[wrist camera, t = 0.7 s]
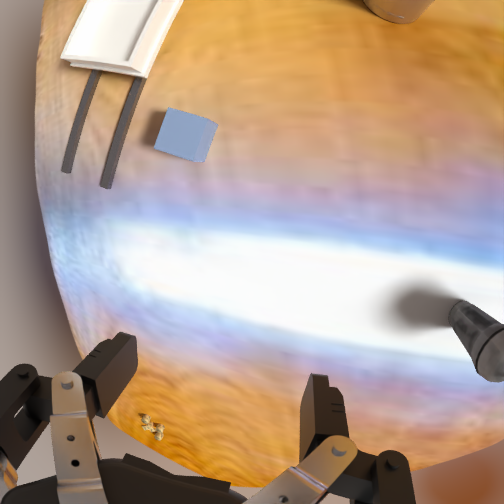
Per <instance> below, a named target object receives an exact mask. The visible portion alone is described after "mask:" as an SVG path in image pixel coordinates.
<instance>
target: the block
mask: <svg viewBox="0 0 504 504" xmlns="http://www.w3.org/2000/svg"><path fill="white" fill-rule="evenodd" d="M217 127H218V124H216V123H214V122H213V121H211V120H209V119H207V118H204V117H200V116H197V115H194V114H190V113H187V112H183V111H180V110H176V109H172V108H169V107H168V110H167V112H166V115H165V118H164V120H163V123H162V126H161V129H160V132H159V134H158V137H157V140H156V143H155V146H154V149H157V150H160V151H163V152H166V153H169V154H172V155H175V156H178V157H181V158H184V159H187V160H190V161H193V162H205V159H206V156H207V153H208V151H209V148H210V145H211V143H212V140H213V137H214V135H215V132H216V129H217Z"/></svg>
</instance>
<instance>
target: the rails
mask: <svg viewBox="0 0 504 504" xmlns="http://www.w3.org/2000/svg"><path fill="white" fill-rule="evenodd" d="M101 74H102V70H95V69H93V70H92V72H91V75H90V78H89V80H88V83H87V86H86V88H85V91H84V94H83V97H82V100H81V103H80V106H79V109H78V112H77V115H76V118H75V121H74V125H73V128H72V132H71V135H70V139H69V142H68V146H67V150H66V154H65V158H64V162H63V166H62V172H64V173H71V170H72V165H73V161H74V157H75V153H76V150H77V146H78V142H79V139H80V135H81V132H82V128H83V125H84V122H85V119H86V116H87V112H88V109H89V106H90V103H91V101H92V98H93V95H94V92H95V89H96V87H97V84H98V81H99V79H100V76H101ZM146 79H147V78H142V77H137V76H136V78H135V80H134V83H133V85H132V88H131V90H130V93H129V96H128V98H127V101H126V104H125V107H124V109H123V112H122V115H121V118H120V121H119V124H118V127H117V130H116V133H115V136H114V140H113V143H112V146H111V149H110V153H109V156H108V160H107V163H106V167H105V171H104V175H103V178H102V182H101V186H100V187H103V188H106V189H111V186H112V182H113V178H114V174H115V171H116V167H117V164H118V160H119V157H120V153H121V150H122V147H123V144H124V141H125V137H126V134H127V131H128V128H129V125H130V122H131V119H132V117H133V114H134V111H135V108H136V105H137V103H138V100H139V97H140V95H141V92H142V90H143V87H144V84H145V82H146Z"/></svg>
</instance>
